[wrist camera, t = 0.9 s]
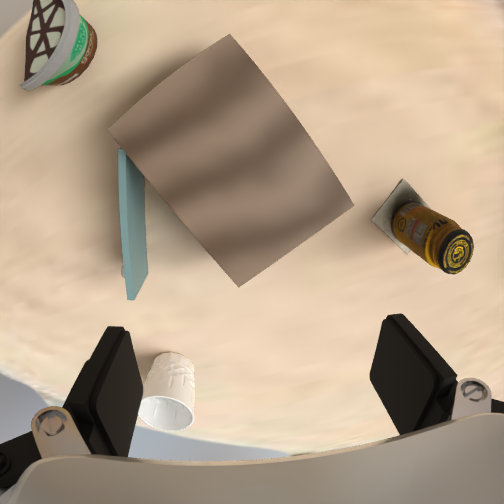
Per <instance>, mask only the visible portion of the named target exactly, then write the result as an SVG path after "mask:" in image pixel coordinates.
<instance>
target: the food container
mask: <svg viewBox="0 0 504 504" xmlns="http://www.w3.org/2000/svg"><path fill="white" fill-rule="evenodd" d="M96 49H97V36H96V33H95V30H94V29H93V28H92V26H91V25H90V24H89V23H88V22H87V21H86V20H85V19H84V18H83V17H82V16H81V15H80V14H79V10H78V8H77V5H76V3H75V2H74V0H34V1H33V8H32V14H31V19H30V23H29V27H28V31H27V36H26V63H25V79H24V82H23V83H21V84H19V85H20V86H22V88H23V89H25V90H27V91H31V90H33V89H35V88H37V87H38V86H40V85H64V84H67V83H69V82H71V81H73V80H74V79H76V78H77V77H79V76H80V75H81V74H82V73H83V72H84V71H85V70H86V69H87V68H88V66H89V64H90V63H91V61H92V59H93V58H94V55H95V52H96Z"/></svg>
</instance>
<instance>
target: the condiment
mask: <svg viewBox="0 0 504 504" xmlns="http://www.w3.org/2000/svg"><path fill="white" fill-rule="evenodd" d="M389 215H390V217H389ZM390 218H391V220H390ZM371 221H373V222H374V223H375V224H376V225H377V226H378V227H379V228H380V229H381V230H382V231H383V232H384V233H386V234H387V235H388V236H389V237H390V238H391V239H392V240H393V241H394V242H395V243H396V244H397V245H398V246H399V247H400V248H401V249H402V250H403V251H404V252H405V253H406V254H407V255H408V253H409V252H410V251H413V252H414V253H415V254H417V255H418V256H420V257H421V258H422V259H424V260H425V261H426V262H427V263H429V264H430V265H431V266H433V267H437V268H439V269H441V270H443V271H444V272H445V273H448V274H457V273H459V272H461V271H462V270H463V269H464V268H465V267H466V266H467V265H468V263H469V262H470V259H471V257H472V255H473V248H474V245H473V239H472V237H471V236H470V234H469V233H468V232H467V231H465V230H463V229H461V228H460V227H459V225H458V224H457V223H456V222H455V221H453V220H451V219H449V218H447V217H445V216H443V215H441V214H439V213H437V212H435V211H433V210H431V209H430V208H429V207H428V206H427V204H426V203H425V202H424V201H423V200H422V198H421V197H420V196H419V195H418V194H417V193H416V192H415V190H413V188H412V187H411V186H410V185H409V184H408V183H407V182H406V181H405V180H404V179H403V180H402V182H401V183H400V184H399V185H398V186H397V188H396V189H395V190H394V192H393V193H392V194H391V195H390V196H389V198H388V199H387V200H386V202H385V203H384V204H383V206H382V207H381V208H380V210H379V211H378V212H377V213H376V215H375V216H374V217H373V219H372V220H371Z"/></svg>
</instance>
